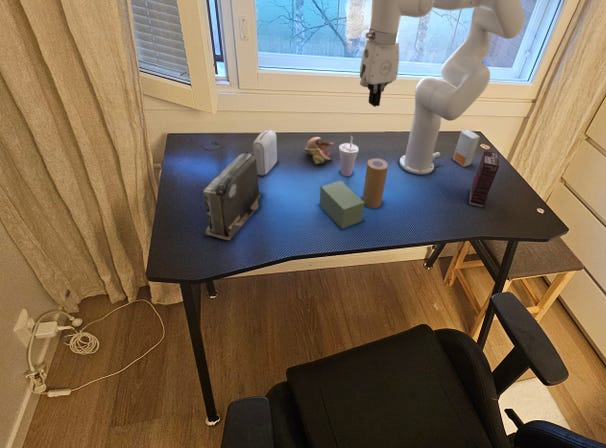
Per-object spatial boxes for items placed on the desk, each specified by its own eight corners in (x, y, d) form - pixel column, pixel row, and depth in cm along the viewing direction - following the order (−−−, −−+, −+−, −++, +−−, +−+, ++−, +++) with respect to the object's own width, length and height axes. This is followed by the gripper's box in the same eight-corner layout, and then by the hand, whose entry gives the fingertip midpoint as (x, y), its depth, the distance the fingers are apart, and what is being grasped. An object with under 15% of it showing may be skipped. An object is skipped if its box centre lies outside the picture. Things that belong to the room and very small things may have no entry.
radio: (247, 187, 119) (243, 143, 110) (273, 195, 118) (271, 151, 109) (198, 234, 102) (188, 187, 92) (228, 244, 101) (222, 197, 91)
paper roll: (367, 203, 127) (393, 164, 124) (378, 213, 123) (406, 174, 120) (341, 193, 116) (370, 151, 113) (353, 204, 113) (382, 161, 110)
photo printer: (266, 158, 133) (265, 124, 125) (278, 161, 132) (277, 127, 124) (252, 174, 125) (249, 139, 117) (265, 177, 124) (263, 142, 117)
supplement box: (483, 207, 129) (499, 166, 119) (468, 204, 129) (483, 163, 119) (483, 193, 136) (498, 153, 126) (469, 190, 136) (483, 149, 126)
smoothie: (352, 180, 130) (357, 142, 121) (334, 175, 131) (337, 137, 122) (358, 170, 135) (362, 133, 126) (340, 166, 136) (343, 129, 127)
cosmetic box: (452, 159, 150) (460, 131, 143) (459, 157, 153) (468, 128, 145) (463, 167, 147) (473, 138, 140) (471, 164, 150) (480, 136, 142)
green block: (339, 199, 122) (340, 180, 117) (361, 221, 115) (364, 202, 111) (319, 205, 118) (320, 186, 113) (341, 229, 111) (343, 209, 107)
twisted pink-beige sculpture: (332, 169, 134) (313, 154, 127) (311, 171, 140) (292, 156, 133) (340, 146, 137) (322, 130, 130) (319, 149, 143) (301, 133, 136)
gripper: (368, 43, 95) (360, 114, 107) (414, 39, 103) (401, 106, 115) (350, 33, 99) (344, 102, 111) (395, 30, 107) (385, 95, 119)
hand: (373, 104), depth 113 cm, fingers closed
